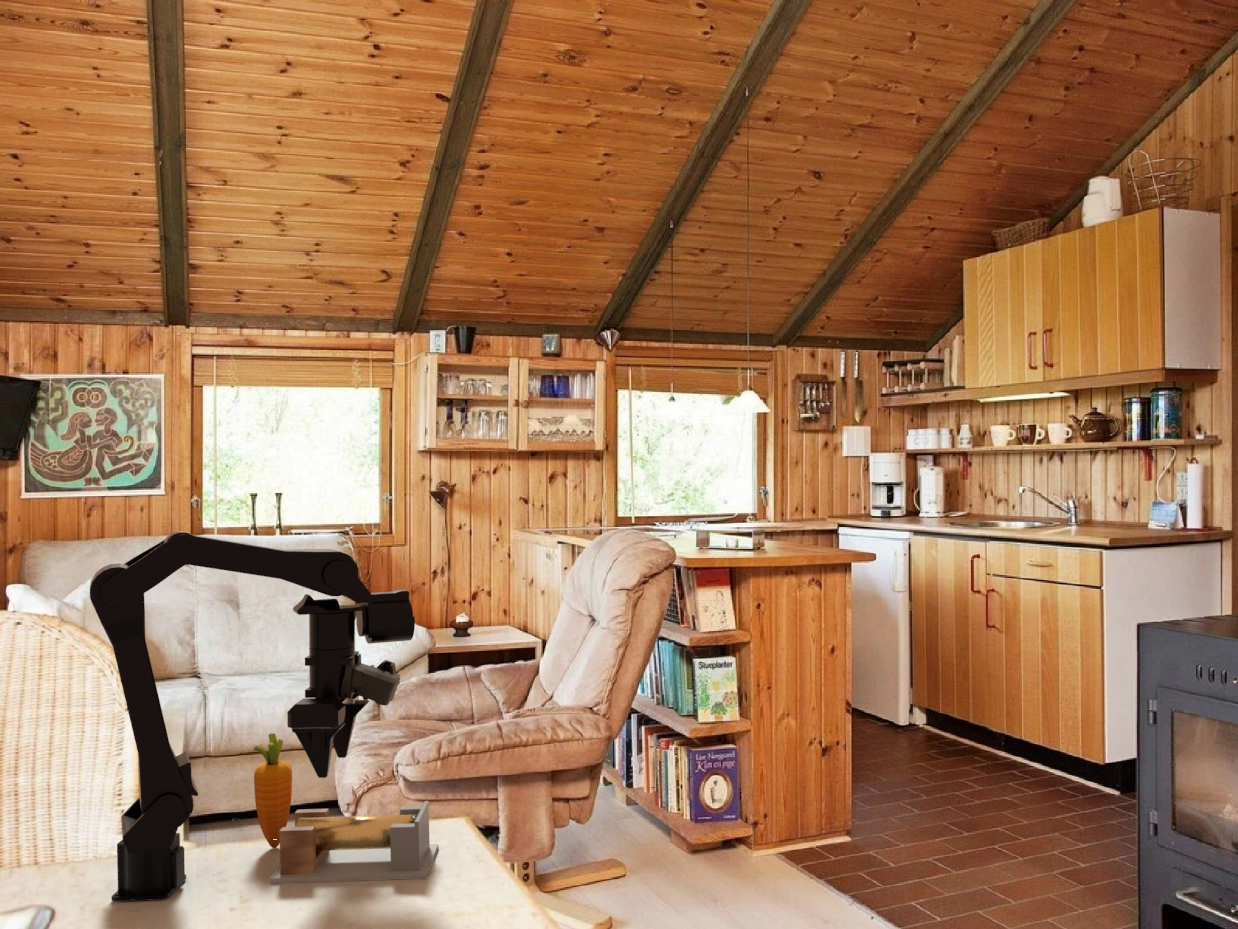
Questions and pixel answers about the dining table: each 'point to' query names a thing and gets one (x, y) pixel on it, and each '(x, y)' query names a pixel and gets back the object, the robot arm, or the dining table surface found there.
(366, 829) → the tube
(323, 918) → the dining table surface
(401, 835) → the socket
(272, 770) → the carrot
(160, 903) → the dining table surface
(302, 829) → the wooden u-shaped cradle
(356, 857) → the board
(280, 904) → the dining table surface
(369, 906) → the dining table surface
